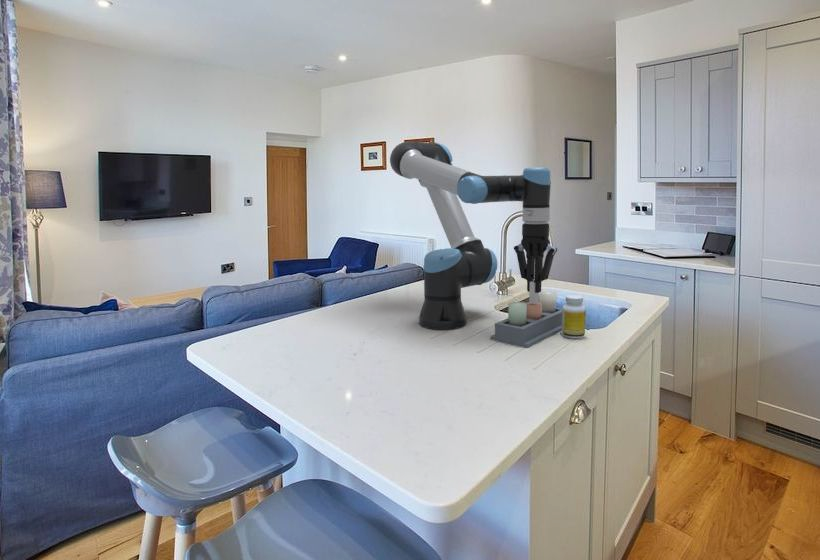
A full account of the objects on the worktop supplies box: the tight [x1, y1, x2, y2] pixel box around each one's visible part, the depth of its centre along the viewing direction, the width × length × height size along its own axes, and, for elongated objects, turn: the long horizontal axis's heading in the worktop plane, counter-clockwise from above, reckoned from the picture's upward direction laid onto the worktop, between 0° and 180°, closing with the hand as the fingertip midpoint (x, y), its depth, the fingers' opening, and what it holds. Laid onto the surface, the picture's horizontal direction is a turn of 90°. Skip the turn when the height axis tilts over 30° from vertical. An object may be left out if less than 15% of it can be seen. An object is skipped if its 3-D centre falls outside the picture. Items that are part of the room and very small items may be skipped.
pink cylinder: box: [525, 301, 542, 320], centre depth 148 cm, size 5×5×6 cm
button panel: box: [489, 307, 562, 349], centre depth 149 cm, size 12×27×5 cm, turn 138°
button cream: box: [538, 290, 557, 314], centre depth 155 cm, size 5×5×6 cm
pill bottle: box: [560, 294, 587, 340], centre depth 144 cm, size 6×6×12 cm
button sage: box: [507, 301, 527, 327], centre depth 142 cm, size 5×5×6 cm
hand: (533, 302), depth 148 cm, fingers closed
